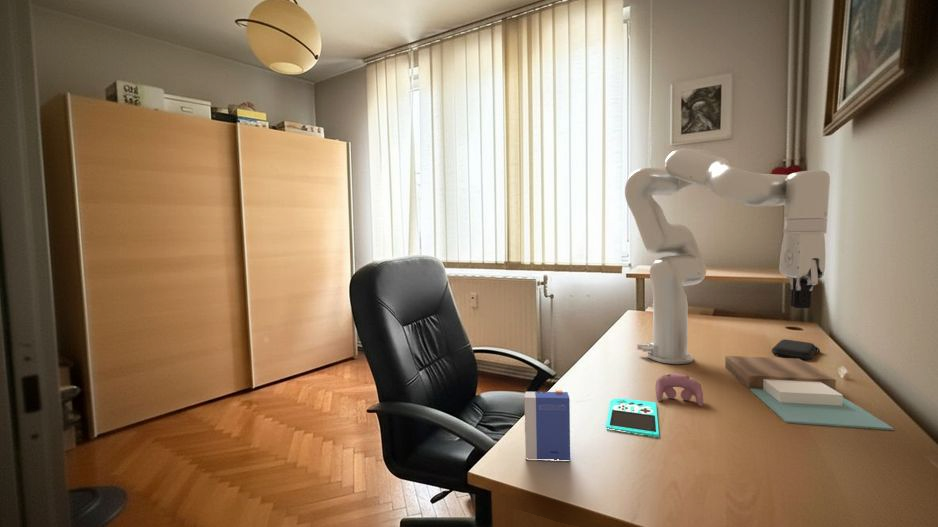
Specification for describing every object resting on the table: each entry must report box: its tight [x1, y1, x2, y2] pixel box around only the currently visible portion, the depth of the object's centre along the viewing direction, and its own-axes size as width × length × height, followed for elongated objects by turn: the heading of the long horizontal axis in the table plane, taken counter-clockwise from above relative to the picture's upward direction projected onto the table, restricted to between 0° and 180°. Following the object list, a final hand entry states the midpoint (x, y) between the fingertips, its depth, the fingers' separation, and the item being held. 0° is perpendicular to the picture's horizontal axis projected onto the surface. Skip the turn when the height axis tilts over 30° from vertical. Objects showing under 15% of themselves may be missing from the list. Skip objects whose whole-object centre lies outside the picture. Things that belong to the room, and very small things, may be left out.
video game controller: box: [655, 373, 704, 407], centre depth 96 cm, size 10×5×7 cm, turn 67°
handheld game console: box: [605, 398, 660, 438], centre depth 88 cm, size 10×16×1 cm, turn 157°
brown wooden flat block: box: [724, 355, 837, 391], centre depth 107 cm, size 18×16×4 cm
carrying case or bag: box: [771, 338, 821, 361], centre depth 127 cm, size 11×3×15 cm
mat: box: [749, 388, 895, 431], centre depth 90 cm, size 18×18×1 cm
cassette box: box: [763, 379, 844, 406], centre depth 95 cm, size 12×8×2 cm, turn 77°
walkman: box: [523, 389, 571, 461], centre depth 73 cm, size 8×3×12 cm, turn 84°
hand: (800, 307), depth 94 cm, fingers closed
